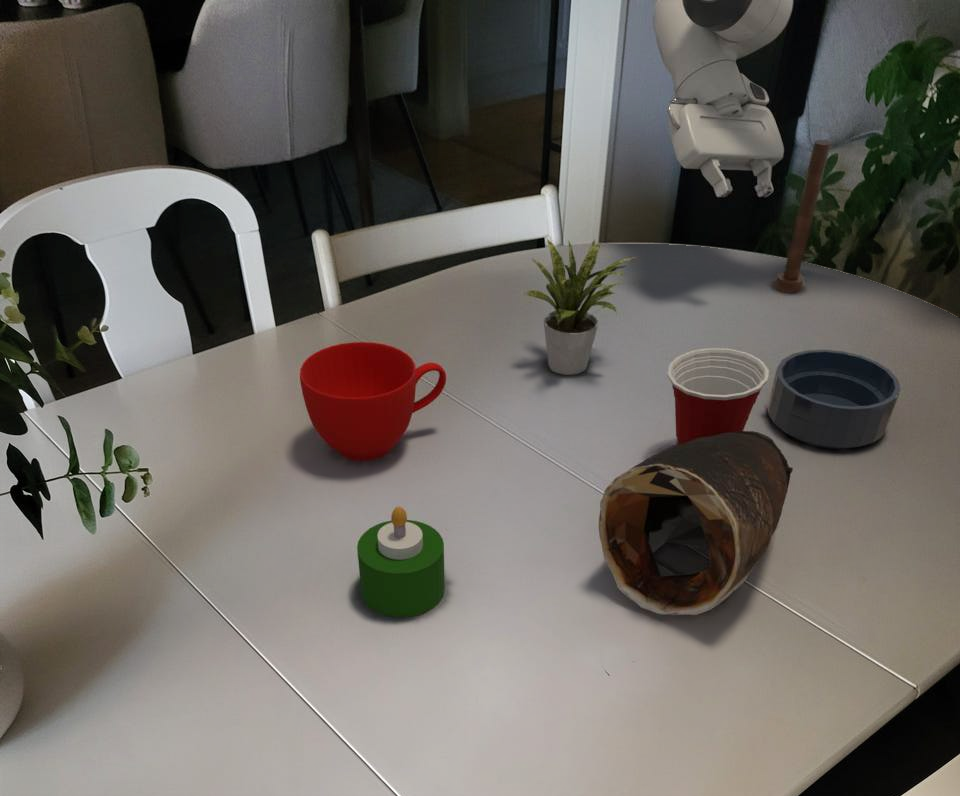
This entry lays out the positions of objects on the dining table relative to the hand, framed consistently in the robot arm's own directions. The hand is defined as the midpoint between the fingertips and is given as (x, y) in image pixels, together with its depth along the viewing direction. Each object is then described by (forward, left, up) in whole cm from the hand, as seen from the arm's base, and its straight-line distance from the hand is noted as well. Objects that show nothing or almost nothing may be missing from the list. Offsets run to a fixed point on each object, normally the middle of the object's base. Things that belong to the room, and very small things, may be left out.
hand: (746, 194), depth 135 cm
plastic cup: (+16, +42, -15) cm, 48 cm away
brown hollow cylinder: (+20, +58, -15) cm, 63 cm away
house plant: (+27, +19, -15) cm, 37 cm away
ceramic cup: (+53, +34, -15) cm, 65 cm away
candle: (+52, +61, -15) cm, 82 cm away
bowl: (-2, +35, -15) cm, 38 cm away
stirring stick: (-11, -3, -15) cm, 19 cm away
